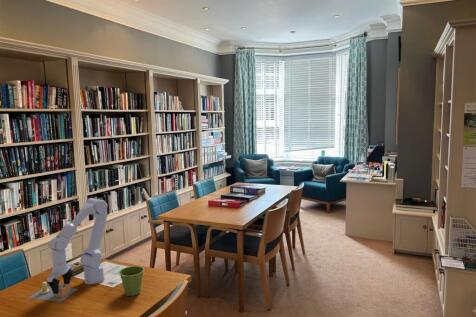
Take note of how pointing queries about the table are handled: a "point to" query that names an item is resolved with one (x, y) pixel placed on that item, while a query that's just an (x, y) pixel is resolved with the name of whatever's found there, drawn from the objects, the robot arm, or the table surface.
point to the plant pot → (132, 279)
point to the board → (49, 293)
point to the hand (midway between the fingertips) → (61, 289)
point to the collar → (63, 290)
